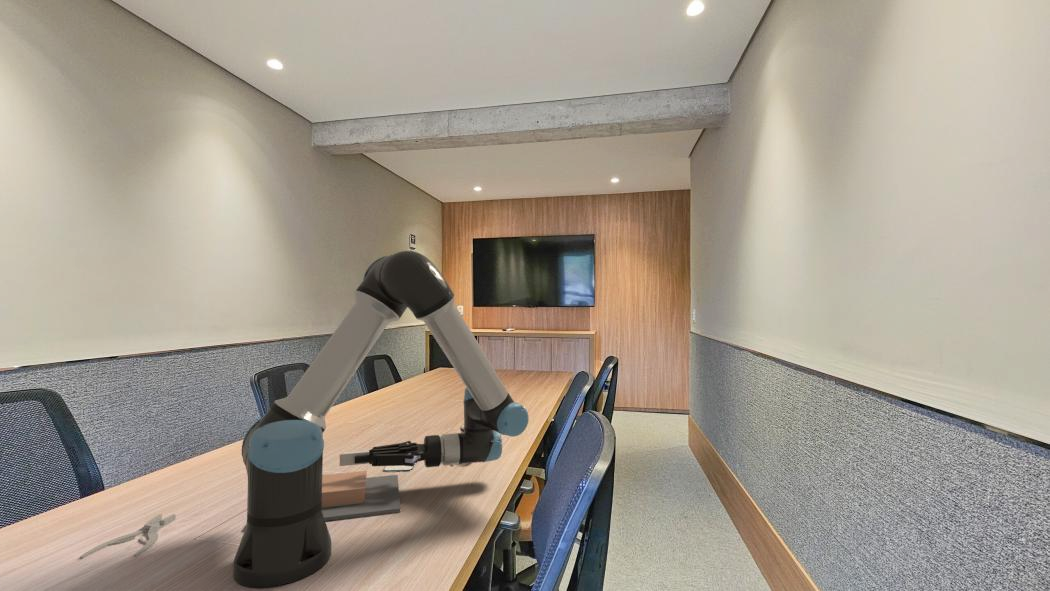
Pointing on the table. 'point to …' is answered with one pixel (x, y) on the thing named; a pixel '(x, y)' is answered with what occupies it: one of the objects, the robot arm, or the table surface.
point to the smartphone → (398, 468)
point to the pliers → (149, 527)
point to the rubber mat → (370, 500)
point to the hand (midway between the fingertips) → (340, 459)
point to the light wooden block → (343, 488)
